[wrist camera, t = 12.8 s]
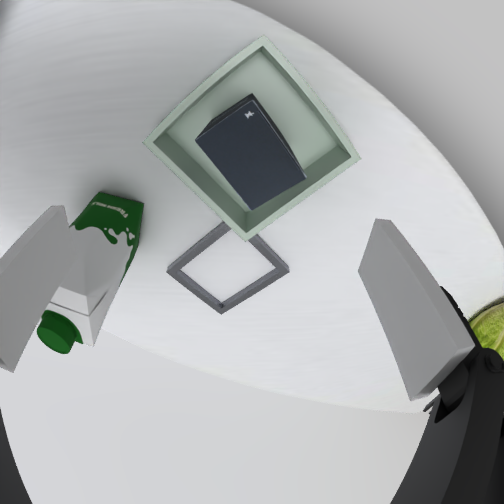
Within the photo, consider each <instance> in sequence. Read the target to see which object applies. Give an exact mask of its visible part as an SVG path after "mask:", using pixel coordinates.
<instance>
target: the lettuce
mask: <svg viewBox="0 0 504 504" xmlns="http://www.w3.org/2000/svg"><path fill="white" fill-rule="evenodd" d="M469 324H470V326H471V328H472V330H473V331H474V333H475V335H476V337H477V338H478V340H479V342H480V344H481V346H482V347H483V348H491V349H494V350H495V351H496V352H498V353H499V354H500V356H501V357H502V358H503V360H504V303H502V304H499V305H496V306H494V307H492V308H490V309H488V310H486V311H484V312H482V313H481V314H479V315H478V316H477V317H476V318H475V319H473V320H472V321H471V322H470V323H469Z"/></svg>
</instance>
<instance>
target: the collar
mask: <svg viewBox="0 0 504 504" xmlns="http://www.w3.org/2000/svg"><path fill="white" fill-rule="evenodd" d="M229 230H231V228H230V227H229V226H228V225H227V224H226V223H225V222H222V223H221V224H220V225H219V226H217V227H216V228H215V229H214V230H212V231H211V232H210V233H209V234H208V235H206V236H205V237H204V238H203V239H201V240H200V241H199V242H198V243H196V244H195V245H194V246H193V247H192V248H190V249H189V250H188V251H187V252H186V253H184V254H183V255H182V256H181V257H180V258H178V259H177V260H176V261H175V262H174V263H172V264H171V265H170V266H169V267H168V269H167V273H168V274H169V275H170V276H172V277H173V278H174V279H175V280H177V281H178V282H179V283H181V284H182V285H183V286H184V287H186V288H187V289H188V290H189V291H191V292H192V293H193V294H195V295H196V296H197V297H199V298H200V299H201V300H202V301H204V302H205V303H206V304H208V305H209V306H210V307H212V308H213V309H214V310H216V311H217V312H218V313H220V314H223V313H224V312H226V311H228V310H229V309H231V308H233V307H234V306H236V305H238V304H239V303H241V302H242V301H244V300H246V299H247V298H249V297H251V296H252V295H254V294H255V293H257V292H259V291H260V290H262V289H263V288H265V287H267V286H268V285H270V284H271V283H273V282H275V281H276V280H278V279H279V278H281V277H282V276H284V275H286V274H287V273H289V267H288V266H287V265H286V264H285V263H284V262H283V261H282V259H281V258H280V257H279V256H278V255H277V254H276V253H275V252H274V251H273V250H272V249H271V248H270V247H269V246H268V245H267V244H266V243H265V242H264V241H263V240H262V239H261V238H260V237H259V236H258V235H257V234H256V235H254V236H253V237H252V238H250V239H249V240H248V241H249V242H250V243H251V244H252V245H253V246H254V247H255V248H256V249H257V250H258V251H259V252H260V253H261V254H262V255H263V256H265V257H266V258H267V259H268V260H269V261H270V262H271V263H272V264H273V265H274V266H275V267H276V269H274V270H273V271H271V272H269V273H268V274H266V275H265V276H263V277H262V278H260V279H259V280H257V281H256V282H254V283H252V284H251V285H249V286H248V287H246V288H245V289H243V290H242V291H240V292H238V293H237V294H235V295H234V296H232V297H231V298H229V299H228V300H226V301H224V302H223V303H221V302H220V301H218V300H217V299H216V298H214V297H213V296H212V295H211V294H209V293H208V292H207V291H205V290H204V289H203V288H202V287H200V286H199V285H198V284H197V283H195V282H194V281H193V280H192V279H190V278H189V277H188V276H187V275H186V274H184V273H183V272H182V271H181V270H180V269H181V268H182V267H183V266H185V265H186V264H187V263H189V262H190V261H191V260H192V259H194V258H195V257H196V256H197V255H199V254H200V253H201V252H202V251H204V250H205V249H206V248H207V247H209V246H210V245H211V244H213V243H214V242H215V241H216V240H218V239H219V238H220V237H222V236H223V235H224V234H225V233H227V232H228V231H229Z"/></svg>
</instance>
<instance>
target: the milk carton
mask: <svg viewBox="0 0 504 504" xmlns="http://www.w3.org/2000/svg"><path fill="white" fill-rule="evenodd" d="M143 206H144V204H143V203H139V202H136V201H132V200H128V199H124V198H121V197H117V196H113V195H109V194H105V193H101V192H98V193H97V195H96V196H95V197H94V198H93V199H92V201H91V202H90V203H89V204H88V205H87V207H86V208H85V209H84V210H83V212H82V213H81V214H80V215H79V216H78V218H77V219H76V220H75V221H74V222H73V223H72V224H71V225H70V226H69V228H70V232H71V236H72V239H73V243H74V246H75V249H76V253H77V256H78V259H77V260H76V261H75V263H74V264H73V266H72V267H71V269H70V270H69V272H68V273H67V275H66V276H65V278H64V280H63V281H62V283H61V284H60V286H59V287H58V289H57V291H56V292H55V294H54V296H53V297H52V299H51V301H50V302H49V304H48V306H47V307H46V309H45V311H44V313H43V314H42V316H41V318H40V320H39V322H38V323H37V325H39V327H38V328H37V335H38V337H39V338H40V340H41V341H42V342H43V343H44V344H45V345H46V346H48V347H49V348H50V349H52V350H54V351H56V352H58V353H61V354H68V353H69V352H70V350H71V348H72V346H73V343H74V342H75V341H76V342H79V343H81V344H83V343H84V344H86V345H88V346H92V347H94V344H95V342H96V339H97V336H98V334H99V331H100V329H101V326H102V324H103V321H104V319H105V316H106V314H107V312H108V309H109V307H110V305H111V303H112V301H113V299H114V297H115V295H116V293H117V290H118V288H119V286H120V284H121V282H122V280H123V278H124V276H125V274H126V272H127V270H128V268H129V266H130V264H131V262H132V260H133V258H134V256H135V253H136V250H137V248H138V243H139V234H140V227H141V219H142V212H143Z"/></svg>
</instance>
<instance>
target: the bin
mask: <svg viewBox="0 0 504 504" xmlns="http://www.w3.org/2000/svg"><path fill="white" fill-rule="evenodd" d="M251 93H253V94H254V96H255V97H256V98H257V100H258V101H259V102H260V104H261V105H262V106H263V108H264V109H265V111H266V112H267V113H268V115H269V116H270V117H271V119H272V120H273V122H274V123H275V124H276V126H277V127H278V129H279V130H280V132H281V133H282V135H283V136H284V138H285V139H286V141H287V143H288V144H289V146H290V148H291V149H292V151H293V153H294V155H295V157H296V158H297V160H298V162H299V164H300V166H301V167H302V169H303V171H304V173H305V174H306V175H307V178H306V179H305V180H303V181H301V182H300V183H298V184H296V185H294V186H293V187H291V188H289V189H288V190H286V191H284V192H283V193H281V194H279V195H278V196H276V197H274V198H273V199H271V200H269V201H268V202H266V203H264V204H263V205H261V206H259V207H258V208H256V209H254V210H253V211H251V210H250V209H249V208H248V206H247V205H246V204H245V202H244V201H243V200H242V199H241V197H240V196H239V195H238V194H237V192H236V191H235V190H234V189H233V187H232V186H231V185H230V184H229V182H228V181H227V180H226V179H225V177H224V176H223V175H222V174H221V172H220V171H219V170H218V169H217V168H216V166H215V165H214V164H213V162H212V161H211V160H210V159H209V158H208V156H207V155H206V154H205V153H204V152H203V150H202V149H201V148H200V147H199V146H198V144H197V143H196V142H195V139H196V138H197V136H198V135H199V134H200V133H201V132H202V130H203V129H204V128H205V127H206V126H207V124H208V123H209V122H210V121H211V120H212V119H214V118H215V117H216V116H218V115H219V114H221V113H222V112H224V111H225V110H227V109H228V108H230V107H231V106H233V105H234V104H236V103H237V102H239V101H240V100H242V99H243V98H245V97H246V96H248V95H249V94H251ZM142 143H143V144H144V145H145V146H146V147H147V148H148V149H149V150H150V151H151V152H152V153H154V154H155V155H156V156H157V157H158V158H159V159H160V160H161V161H162V162H163V163H164V164H165V165H166V166H167V167H168V168H169V169H170V170H171V171H172V172H173V173H174V174H175V175H176V176H177V177H178V178H179V179H181V180H182V181H183V182H184V183H185V184H186V185H187V186H188V187H189V188H190V189H191V190H192V191H193V192H194V193H195V194H196V195H197V196H198V197H199V198H200V199H201V200H202V201H203V202H204V203H205V204H206V205H207V206H208V207H210V208H211V209H212V210H213V211H214V212H215V213H216V214H217V215H218V216H219V217H220V218H221V219H222V220H223V221H224V222H225V223H226V224H227V225H228V226H229V227H230V228H231V229H232V230H233V231H234V232H235V233H236V234H237V235H239V236H240V237H241V238H242V239H243V240H244V241H245V242H246V241H248V240H249V239H250V238H252V237H253V236H254V235H256V234H257V233H259V232H260V231H261V230H263V229H264V228H265V227H267V226H268V225H270V224H271V223H272V222H274V221H275V220H276V219H278V218H279V217H281V216H282V215H283V214H285V213H286V212H288V211H289V210H290V209H292V208H293V207H295V206H296V205H297V204H299V203H300V202H301V201H303V200H304V199H306V198H307V197H308V196H310V195H311V194H313V193H314V192H315V191H317V190H318V189H320V188H321V187H322V186H324V185H325V184H327V183H328V182H329V181H331V180H332V179H334V178H335V177H337V176H338V175H339V174H341V173H342V172H344V171H345V170H346V169H348V168H349V167H351V166H352V165H353V164H355V163H356V162H358V161H359V160H361V157H360V156H359V154H358V152H357V151H356V149H355V148H354V146H353V145H352V143H351V142H350V140H349V139H348V137H347V136H346V134H345V133H344V132H343V130H342V129H341V127H340V126H339V124H338V123H337V122H336V120H335V119H334V117H333V116H332V115H331V113H330V112H329V111H328V109H327V108H326V107H325V105H324V104H323V103H322V101H321V100H320V99H319V97H318V96H317V95H316V94H315V92H314V91H313V90H312V88H311V87H310V86H309V85H308V84H307V82H306V81H305V80H304V79H303V77H302V76H301V75H300V74H299V73H298V72H297V70H296V69H295V68H294V67H293V66H292V65H291V63H290V62H289V61H288V60H287V59H286V58H285V57H284V56H283V54H282V53H281V52H280V51H279V50H278V49H277V48H276V47H275V46H274V45H273V44H272V43H271V42H270V41H269V40H268V39H267V37H266V36H265V35H263V36H261V37H260V38H258V39H257V40H255V41H254V42H253V43H251V44H250V45H249V46H247V47H246V48H245V49H243V50H242V51H241V52H239V53H238V54H237V55H235V56H234V57H233V58H231V59H230V60H229V61H228V62H226V63H225V64H224V65H223V66H222V67H220V68H219V69H218V70H217V71H216V72H214V73H213V74H212V75H211V76H210V77H208V78H207V79H206V80H205V81H204V82H203V83H202V84H200V85H199V86H198V87H197V88H196V89H195V90H194V91H193V92H192V93H191V94H189V95H188V96H187V97H186V98H185V99H184V100H183V101H182V102H181V103H180V104H179V105H178V106H177V107H176V108H175V109H174V110H173V111H172V112H171V113H170V114H169V115H168V116H167V117H166V118H165V119H164V120H163V121H162V122H161V123H160V124H159V125H158V126H157V127H156V128H155V129H154V130H153V131H152V132H151V134H150V135H149V136H148V137H147V138H146V139H145V140H144V141H143V142H142Z"/></svg>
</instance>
